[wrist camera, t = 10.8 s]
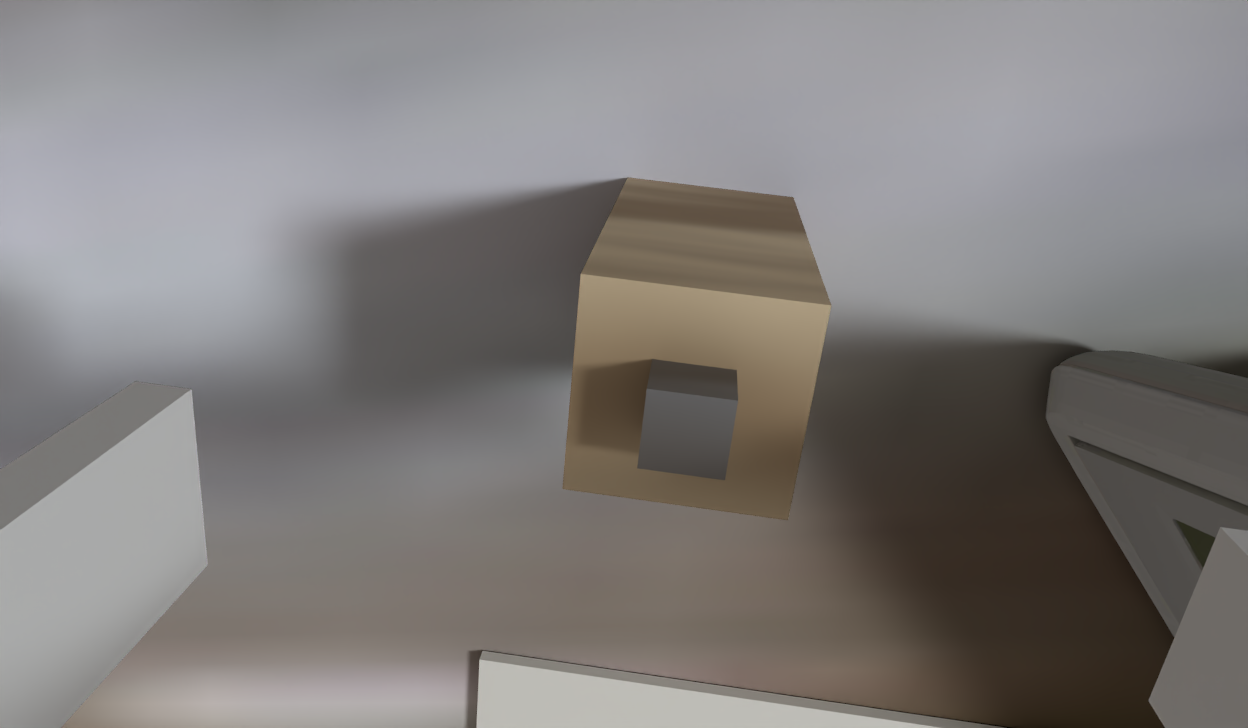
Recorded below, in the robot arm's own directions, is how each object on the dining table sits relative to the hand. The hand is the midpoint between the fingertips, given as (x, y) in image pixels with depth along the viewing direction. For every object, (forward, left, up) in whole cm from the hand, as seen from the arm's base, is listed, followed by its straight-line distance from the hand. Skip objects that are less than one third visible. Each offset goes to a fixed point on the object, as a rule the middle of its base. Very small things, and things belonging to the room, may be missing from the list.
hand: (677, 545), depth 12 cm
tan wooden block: (0, 0, -12) cm, 12 cm away
